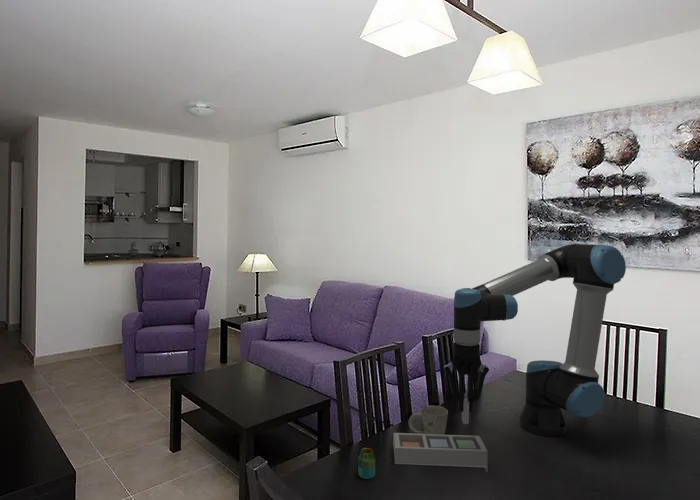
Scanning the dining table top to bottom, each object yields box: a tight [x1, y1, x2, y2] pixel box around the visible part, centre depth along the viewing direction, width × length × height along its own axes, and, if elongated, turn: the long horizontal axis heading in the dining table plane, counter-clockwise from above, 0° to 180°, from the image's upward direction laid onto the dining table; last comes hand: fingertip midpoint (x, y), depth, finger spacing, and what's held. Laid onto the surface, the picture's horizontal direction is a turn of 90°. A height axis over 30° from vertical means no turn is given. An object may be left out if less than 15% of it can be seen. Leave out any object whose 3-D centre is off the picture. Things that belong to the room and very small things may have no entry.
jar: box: [357, 447, 376, 480], centre depth 127 cm, size 5×5×8 cm
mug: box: [407, 405, 449, 435], centre depth 151 cm, size 8×13×10 cm, turn 78°
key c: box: [402, 442, 420, 447], centre depth 138 cm, size 5×5×2 cm
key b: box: [429, 439, 449, 448], centre depth 138 cm, size 5×5×2 cm
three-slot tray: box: [392, 432, 489, 473], centre depth 138 cm, size 26×11×6 cm, turn 88°
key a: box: [456, 440, 477, 449], centre depth 137 cm, size 5×5×2 cm
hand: (465, 422), depth 137 cm, fingers closed
